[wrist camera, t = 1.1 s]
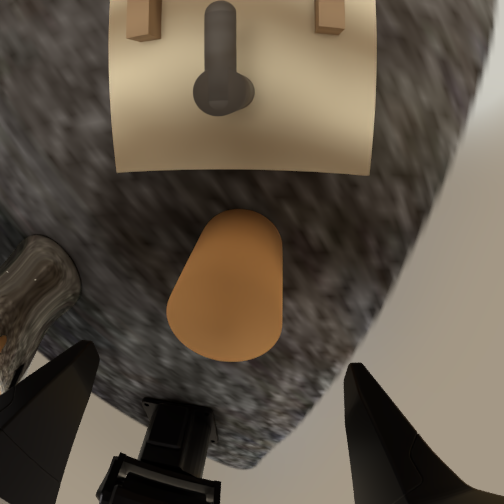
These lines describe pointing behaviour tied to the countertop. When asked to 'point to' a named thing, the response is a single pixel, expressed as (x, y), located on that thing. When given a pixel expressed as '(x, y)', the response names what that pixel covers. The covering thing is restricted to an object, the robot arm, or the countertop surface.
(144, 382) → the countertop surface
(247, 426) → the countertop surface
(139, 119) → the hook board
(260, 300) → the orange rounded capsule
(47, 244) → the silver tall piece
